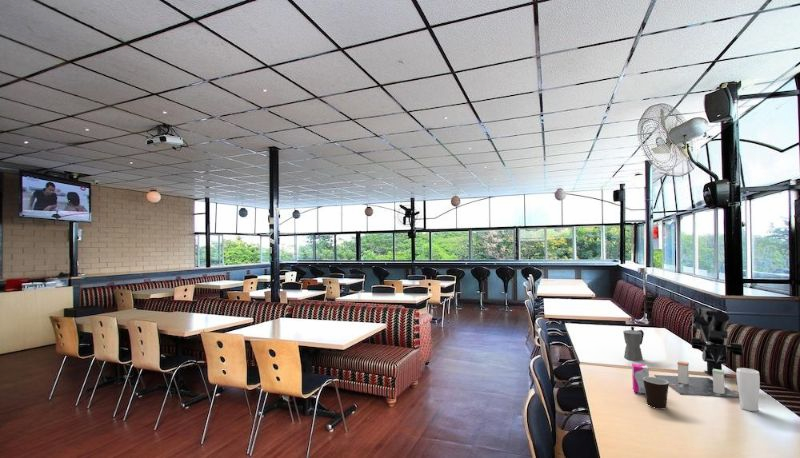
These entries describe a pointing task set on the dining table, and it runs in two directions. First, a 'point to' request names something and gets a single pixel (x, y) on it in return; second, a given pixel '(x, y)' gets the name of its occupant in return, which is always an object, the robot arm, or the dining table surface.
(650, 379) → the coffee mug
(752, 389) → the white rounded cylinder
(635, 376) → the supplement box
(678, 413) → the dining table surface
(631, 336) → the coffeepot
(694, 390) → the switch panel
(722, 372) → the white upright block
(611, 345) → the dining table surface
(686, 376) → the terracotta slider
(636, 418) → the dining table surface
